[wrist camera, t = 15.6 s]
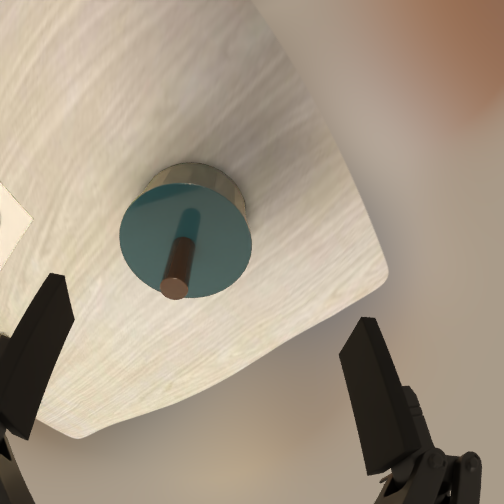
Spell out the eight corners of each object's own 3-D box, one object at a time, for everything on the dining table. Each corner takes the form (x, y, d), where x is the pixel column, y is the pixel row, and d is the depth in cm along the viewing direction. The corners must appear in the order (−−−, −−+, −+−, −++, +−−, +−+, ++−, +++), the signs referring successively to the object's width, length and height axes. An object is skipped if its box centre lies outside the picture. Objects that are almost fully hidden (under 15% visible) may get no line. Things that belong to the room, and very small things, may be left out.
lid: (169, 150, 29) (148, 180, 22) (279, 234, 35) (289, 281, 28) (102, 248, 34) (76, 293, 28) (199, 309, 40) (194, 359, 33)
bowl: (182, 140, 35) (169, 158, 29) (267, 207, 40) (273, 237, 34) (123, 219, 40) (105, 250, 34) (202, 272, 46) (198, 308, 39)
